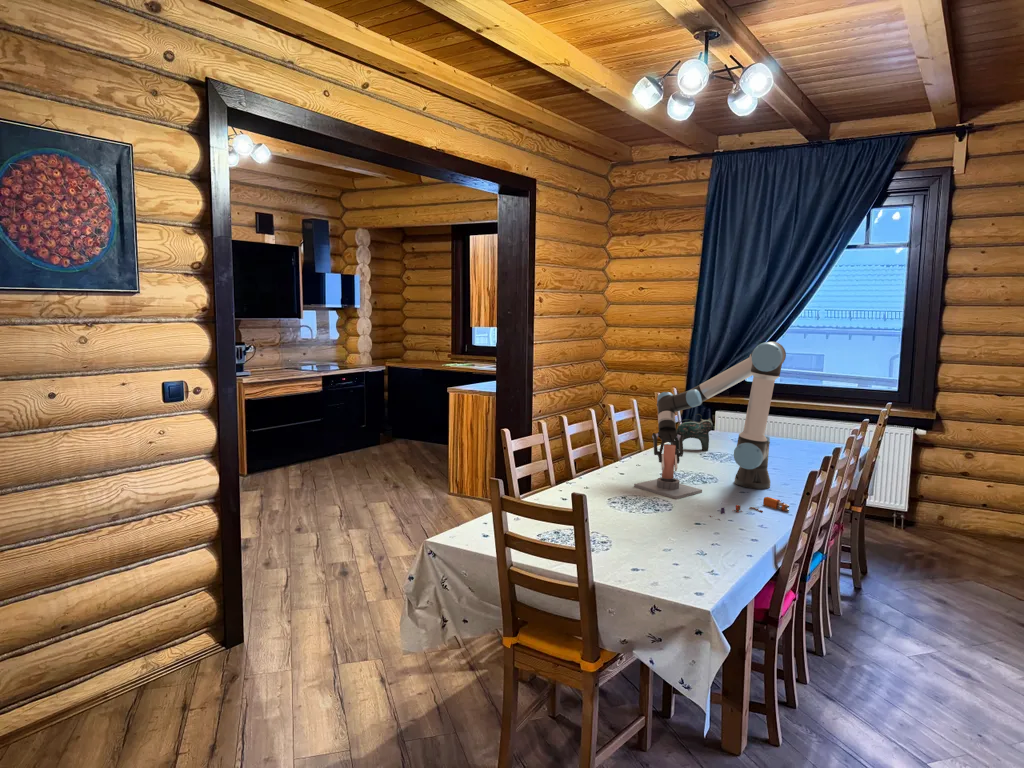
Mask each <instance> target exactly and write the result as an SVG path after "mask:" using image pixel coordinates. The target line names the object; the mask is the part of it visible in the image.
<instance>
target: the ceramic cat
mask: <svg viewBox="0 0 1024 768" xmlns="http://www.w3.org/2000/svg"><path fill="white" fill-rule="evenodd" d="M698 415H699V416H700V417H701V418H700V420H699V421H694V420H692V419H689V418H687V419H682V420H680V421H679V423H678V425H677V427H676V432H677V434H678V435H683V442H684V441H686V440H687V439H697V440H699V441H700V444H701V451H703V452H704V451H705V452H709V447H710V445H709V444H710V432H711V431H712V430H713V422H712V419H711V418H708V419H703V417H702V415H701V414H700V413H696V414H695V415H694V417H696V416H698ZM684 421H685V422H684ZM675 443H676V446H677V449H678V450H679V440H678V438H677V437H676V439H675Z"/></svg>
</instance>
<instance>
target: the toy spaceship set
mask: <svg viewBox="0 0 1024 768" xmlns="http://www.w3.org/2000/svg"><path fill="white" fill-rule="evenodd" d="M782 501H783V500H780V499H777V498H773V497H770V496H765V497H764V498H763V501H762V502H763V503H762V505H764V506H766V507H768V508H772V509H775V510H780V511H783V512H788V513H789V512H790V509H789V508H790V505H789V504H787V503H785V502H782ZM759 509H760V507H756V506H750V507H749V508H748V510H750V511H753V510H754V511H755V510H756V511H758V512H759V513H762V512H763V513H764V511H763V510H762V509H760V510H759ZM725 510H726V509H725V507H720V514H721V515H722V514H726V512H725ZM732 512H736V513H739V512H741V513H742V512H743V511H742V509H741V505H740V504H736V505H735V509H732ZM709 517H710V518H713V517H714V515H713V516H712V515H709ZM715 520H717V521H721V519H720V518H715Z"/></svg>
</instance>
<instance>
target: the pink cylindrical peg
mask: <svg viewBox="0 0 1024 768" xmlns="http://www.w3.org/2000/svg"><path fill="white" fill-rule="evenodd" d="M675 448H676V446H675V445H671V443H667V444H665V443H664V446H663V452H662V454H664V470H662V469H661V477H662V478H665V479H673V478H674V475H675V474H674V473H675V467H674V461H675Z"/></svg>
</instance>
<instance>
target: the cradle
mask: <svg viewBox="0 0 1024 768" xmlns="http://www.w3.org/2000/svg"><path fill="white" fill-rule="evenodd" d="M633 487H634V488H637V489H640V490H644V491H647V492H651V493H654V494H657V495H661V496H664V497H667V498H669V499H674V500H679V499H681V498H683V499H684V498H686V497H689V496H694V495H697V494H701V493H703V489H701V488H697V487H694V486H690V485H687V484H682V483H681V482H680V479H677V478H674V477H673V479H665V478H662V476H661V477H657V478H655V479H652V480H651V479H650V480H647V481H643V482H637V483H634V485H633Z"/></svg>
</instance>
